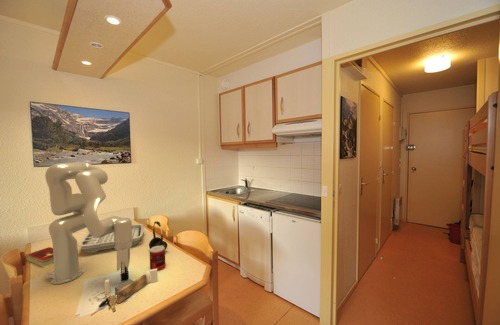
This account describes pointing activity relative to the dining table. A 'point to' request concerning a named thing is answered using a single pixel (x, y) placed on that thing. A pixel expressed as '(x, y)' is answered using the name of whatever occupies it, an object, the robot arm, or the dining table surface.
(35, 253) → the hardcover book
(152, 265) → the canned food
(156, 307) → the dining table surface
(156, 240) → the headphones
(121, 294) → the door
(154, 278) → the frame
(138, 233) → the dish rack
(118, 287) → the doorstop
